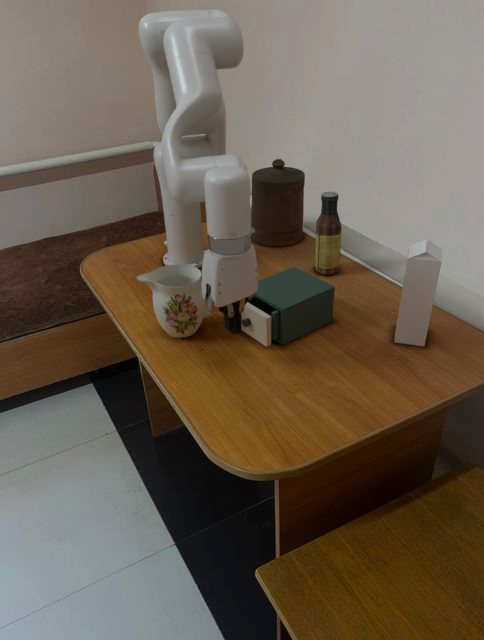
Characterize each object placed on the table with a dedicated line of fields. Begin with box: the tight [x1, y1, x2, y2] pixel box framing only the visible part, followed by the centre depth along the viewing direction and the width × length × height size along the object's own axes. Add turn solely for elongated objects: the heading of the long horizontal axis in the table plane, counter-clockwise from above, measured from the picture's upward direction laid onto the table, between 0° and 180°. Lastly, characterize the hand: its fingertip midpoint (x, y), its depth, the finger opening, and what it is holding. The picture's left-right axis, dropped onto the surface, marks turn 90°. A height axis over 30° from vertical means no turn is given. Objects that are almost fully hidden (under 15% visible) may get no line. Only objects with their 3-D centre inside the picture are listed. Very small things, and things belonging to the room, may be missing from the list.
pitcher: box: [136, 264, 216, 339], centre depth 113 cm, size 11×18×14 cm, turn 103°
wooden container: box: [250, 158, 306, 247], centre depth 151 cm, size 15×15×22 cm
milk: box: [393, 231, 443, 347], centre depth 105 cm, size 6×6×22 cm
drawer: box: [241, 296, 281, 348], centre depth 114 cm, size 15×11×7 cm
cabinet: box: [255, 266, 336, 346], centre depth 116 cm, size 15×13×9 cm
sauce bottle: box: [314, 191, 342, 276], centre depth 132 cm, size 6×6×20 cm
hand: (233, 330), depth 104 cm, fingers closed
